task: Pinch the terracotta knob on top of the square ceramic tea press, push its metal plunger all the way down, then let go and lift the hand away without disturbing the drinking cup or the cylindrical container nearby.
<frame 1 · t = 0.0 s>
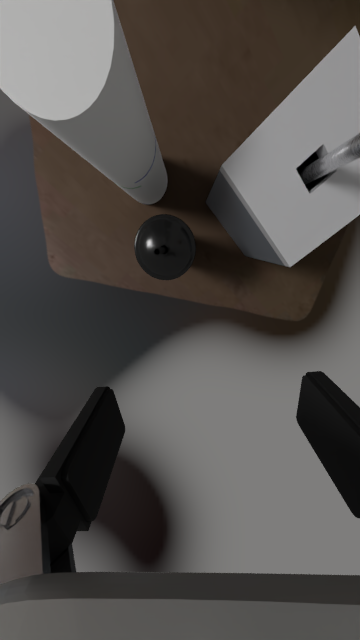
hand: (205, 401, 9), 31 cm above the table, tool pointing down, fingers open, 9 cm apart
plunger: (359, 145, 13), point 22 cm above the table, slide at 8.0 cm
cylindrical container: (146, 180, 32), on the table
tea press: (254, 204, 33), on the table
drinking cup: (173, 246, 36), on the table
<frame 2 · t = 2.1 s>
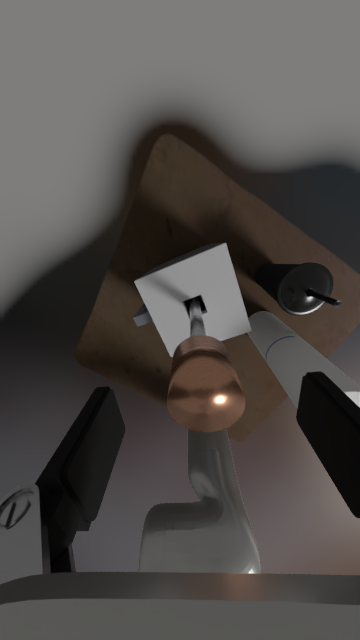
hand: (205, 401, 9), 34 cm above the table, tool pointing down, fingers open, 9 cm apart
plunger: (196, 320, 20), point 22 cm above the table, slide at 8.0 cm
cylindrical container: (260, 325, 44), on the table
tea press: (192, 282, 41), on the table
drinking cup: (267, 275, 40), on the table
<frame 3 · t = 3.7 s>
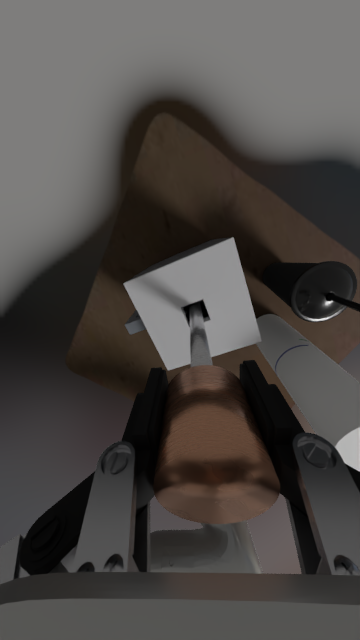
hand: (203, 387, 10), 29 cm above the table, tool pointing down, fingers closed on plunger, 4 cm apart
plunger: (197, 332, 17), point 22 cm above the table, slide at 8.0 cm, touching gripper
cylindrical container: (266, 329, 40), on the table
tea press: (192, 282, 37), on the table
drinking cup: (275, 275, 36), on the table
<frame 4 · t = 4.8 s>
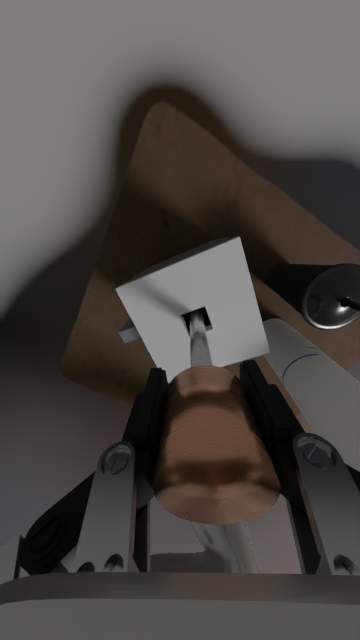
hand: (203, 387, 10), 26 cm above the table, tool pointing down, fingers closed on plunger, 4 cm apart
plunger: (197, 332, 17), point 19 cm above the table, slide at 5.6 cm, touching gripper
cylindrical container: (271, 334, 38), on the table
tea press: (192, 285, 35), on the table
drinking cup: (280, 277, 34), on the table
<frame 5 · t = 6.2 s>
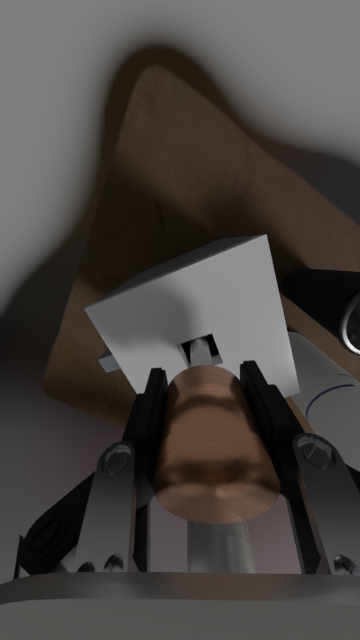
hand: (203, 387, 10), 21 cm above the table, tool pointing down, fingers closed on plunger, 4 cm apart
plunger: (197, 332, 17), point 14 cm above the table, slide at -0.2 cm, touching gripper
cylindrical container: (285, 349, 33), on the table
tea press: (193, 293, 29), on the table
drinking cup: (298, 284, 28), on the table
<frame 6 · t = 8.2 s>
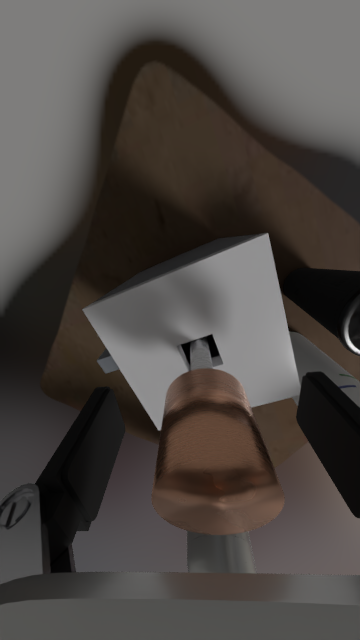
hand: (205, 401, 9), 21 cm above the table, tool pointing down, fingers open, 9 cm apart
plunger: (197, 333, 16), point 14 cm above the table, slide at -0.1 cm
cylindrical container: (285, 349, 33), on the table
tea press: (193, 293, 29), on the table
drinking cup: (299, 284, 28), on the table
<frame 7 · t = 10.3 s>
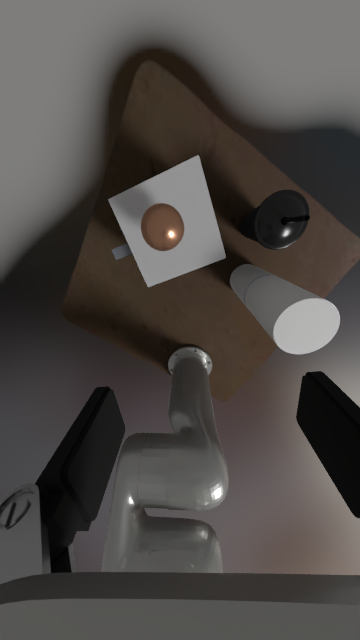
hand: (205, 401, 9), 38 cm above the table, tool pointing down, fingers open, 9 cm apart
plunger: (171, 230, 28), point 14 cm above the table, slide at -0.1 cm
cylindrical container: (244, 279, 44), on the table
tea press: (176, 231, 40), on the table
drinking cup: (251, 225, 40), on the table
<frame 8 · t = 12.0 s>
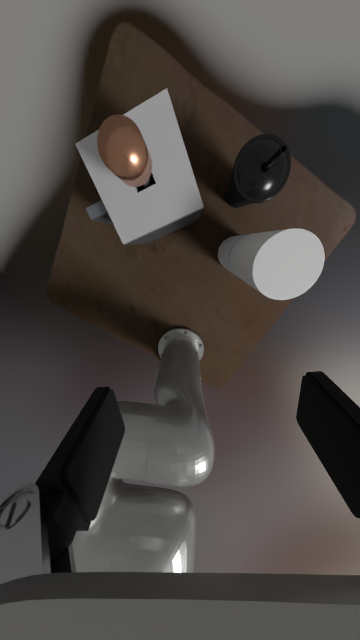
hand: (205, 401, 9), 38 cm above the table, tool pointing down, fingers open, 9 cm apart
plunger: (147, 184, 27), point 14 cm above the table, slide at -0.1 cm
cylindrical container: (233, 253, 43), on the table
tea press: (160, 203, 39), on the table
drinking cup: (237, 194, 38), on the table
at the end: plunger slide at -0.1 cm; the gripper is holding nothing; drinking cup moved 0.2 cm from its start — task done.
